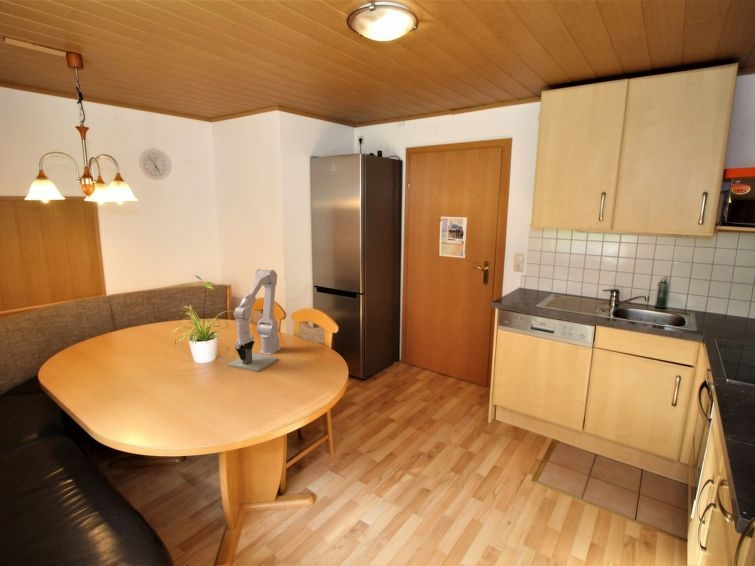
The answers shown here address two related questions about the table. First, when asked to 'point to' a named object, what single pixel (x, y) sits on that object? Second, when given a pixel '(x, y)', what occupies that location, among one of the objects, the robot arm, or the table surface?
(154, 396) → the table surface
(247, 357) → the knob
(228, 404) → the table surface
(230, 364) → the grey square plate
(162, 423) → the table surface
